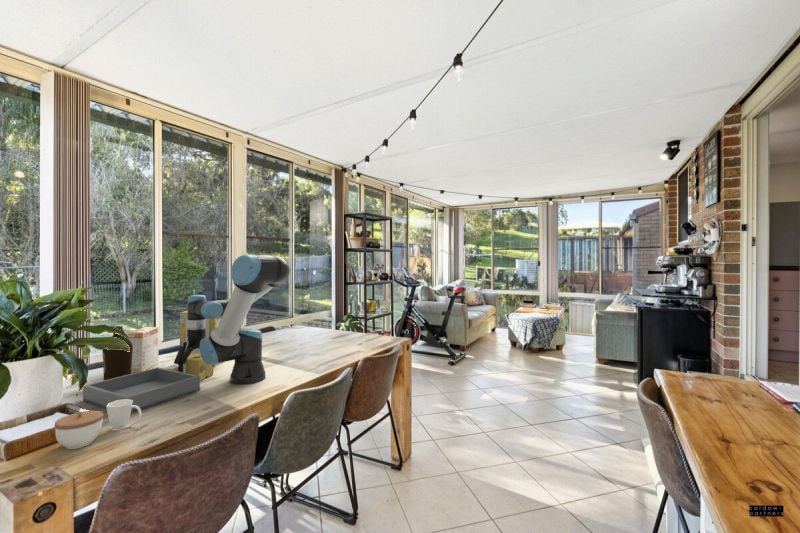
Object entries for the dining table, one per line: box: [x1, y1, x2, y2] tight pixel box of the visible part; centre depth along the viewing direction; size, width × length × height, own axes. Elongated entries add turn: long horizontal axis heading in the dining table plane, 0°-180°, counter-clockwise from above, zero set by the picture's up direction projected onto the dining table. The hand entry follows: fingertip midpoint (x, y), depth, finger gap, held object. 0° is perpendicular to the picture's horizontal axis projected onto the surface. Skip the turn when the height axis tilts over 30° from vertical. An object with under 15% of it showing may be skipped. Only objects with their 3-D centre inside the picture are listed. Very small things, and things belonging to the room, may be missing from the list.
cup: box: [106, 399, 143, 432], centre depth 118 cm, size 7×10×8 cm
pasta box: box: [179, 310, 225, 368], centre depth 192 cm, size 18×10×28 cm, turn 89°
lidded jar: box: [54, 410, 104, 450], centre depth 107 cm, size 11×11×9 cm
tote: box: [82, 366, 201, 414], centre depth 146 cm, size 28×28×6 cm
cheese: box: [184, 354, 214, 382], centre depth 169 cm, size 10×11×10 cm
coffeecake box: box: [127, 326, 159, 373], centre depth 184 cm, size 15×7×20 cm, turn 6°
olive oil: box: [101, 325, 133, 381], centre depth 160 cm, size 11×11×25 cm
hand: (196, 374), depth 169 cm, fingers closed on cheese, 12 cm apart
